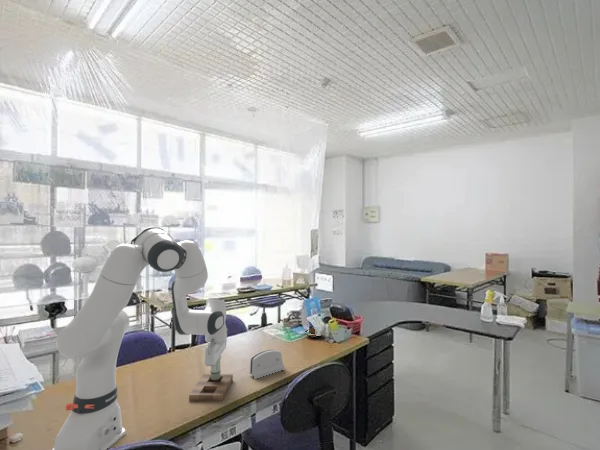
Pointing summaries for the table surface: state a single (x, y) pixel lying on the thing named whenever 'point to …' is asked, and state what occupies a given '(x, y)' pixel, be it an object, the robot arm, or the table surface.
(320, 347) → the table surface
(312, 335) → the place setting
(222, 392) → the board
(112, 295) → the robot arm
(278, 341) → the table surface
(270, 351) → the grey rounded block
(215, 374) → the peg
